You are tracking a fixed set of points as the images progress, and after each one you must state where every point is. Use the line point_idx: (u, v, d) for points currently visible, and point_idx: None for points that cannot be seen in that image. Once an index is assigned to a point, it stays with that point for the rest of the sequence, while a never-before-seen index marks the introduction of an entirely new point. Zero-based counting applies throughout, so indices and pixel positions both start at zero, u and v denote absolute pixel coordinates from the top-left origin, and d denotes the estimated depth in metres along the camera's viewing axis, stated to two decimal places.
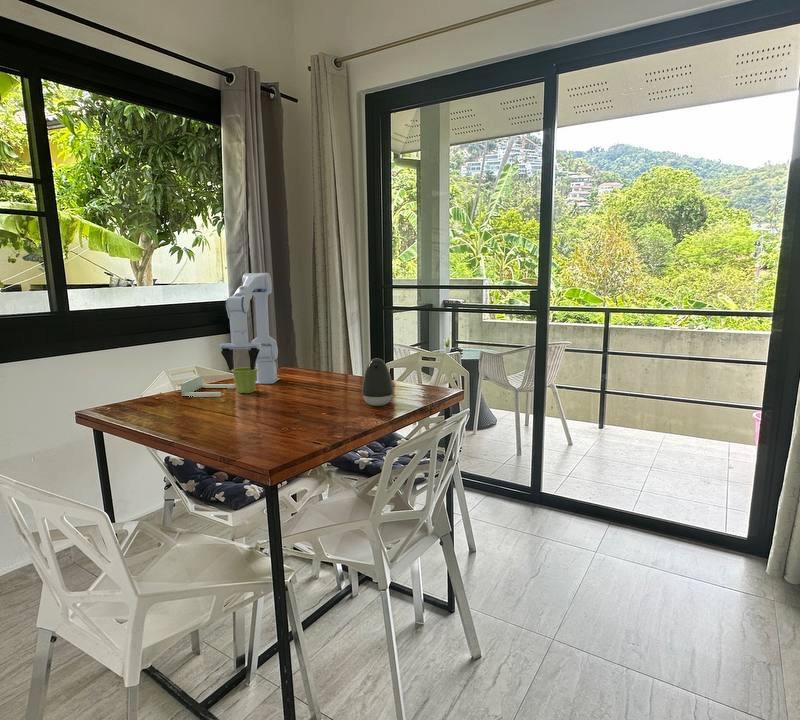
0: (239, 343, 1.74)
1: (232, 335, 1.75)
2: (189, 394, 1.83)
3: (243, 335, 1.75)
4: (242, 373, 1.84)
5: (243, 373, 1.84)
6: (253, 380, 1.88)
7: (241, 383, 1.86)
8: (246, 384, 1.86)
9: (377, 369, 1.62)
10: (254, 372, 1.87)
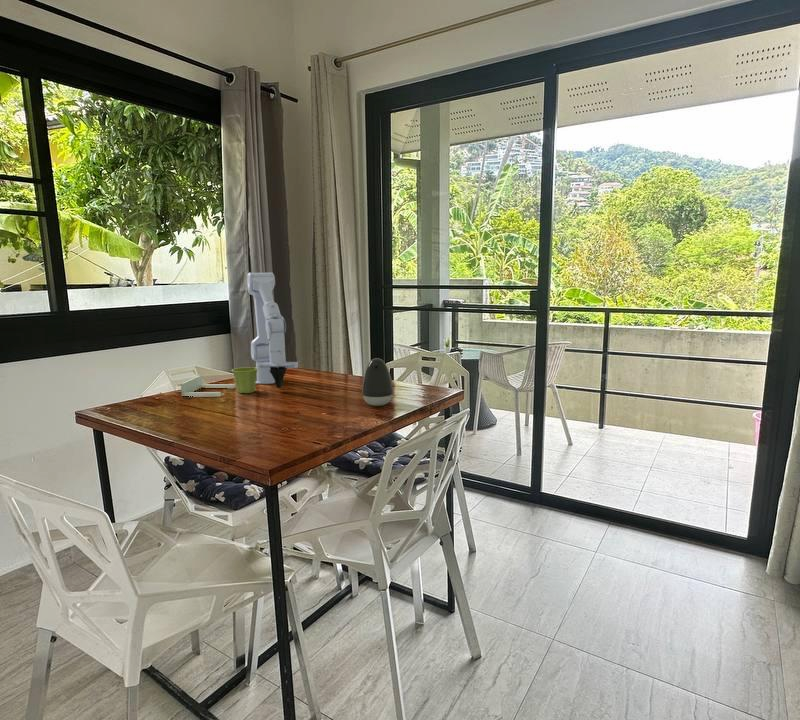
0: (277, 362, 1.85)
1: (271, 355, 1.85)
2: (189, 394, 1.83)
3: (281, 355, 1.85)
4: (242, 373, 1.84)
5: (243, 373, 1.84)
6: (253, 380, 1.88)
7: (241, 383, 1.86)
8: (246, 384, 1.86)
9: (377, 369, 1.62)
10: (254, 372, 1.87)
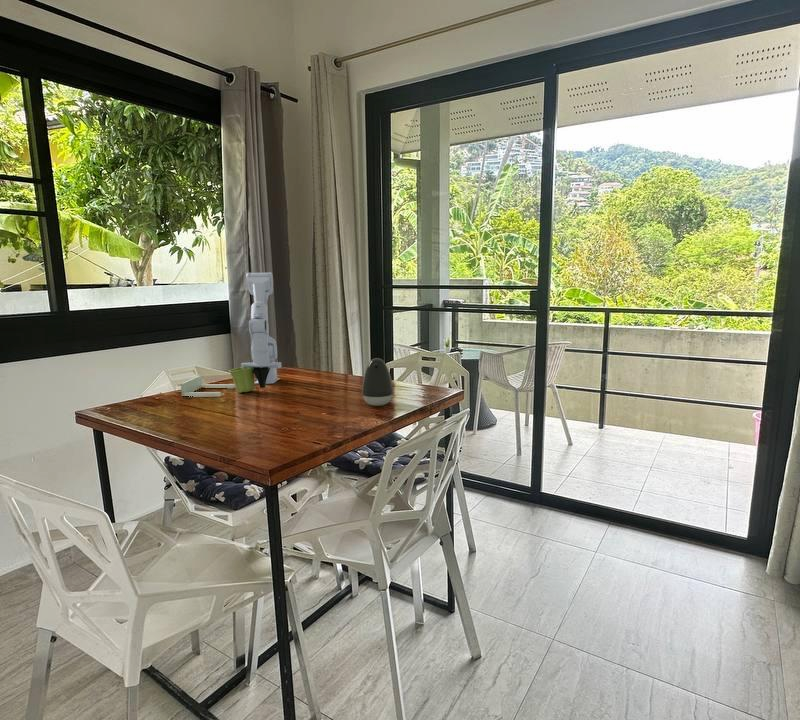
0: (260, 363, 1.85)
1: (254, 355, 1.85)
2: (189, 394, 1.83)
3: (264, 355, 1.85)
4: (239, 372, 1.84)
5: (240, 372, 1.84)
6: (251, 378, 1.88)
7: (239, 382, 1.86)
8: (244, 382, 1.86)
9: (377, 369, 1.62)
10: (251, 370, 1.87)
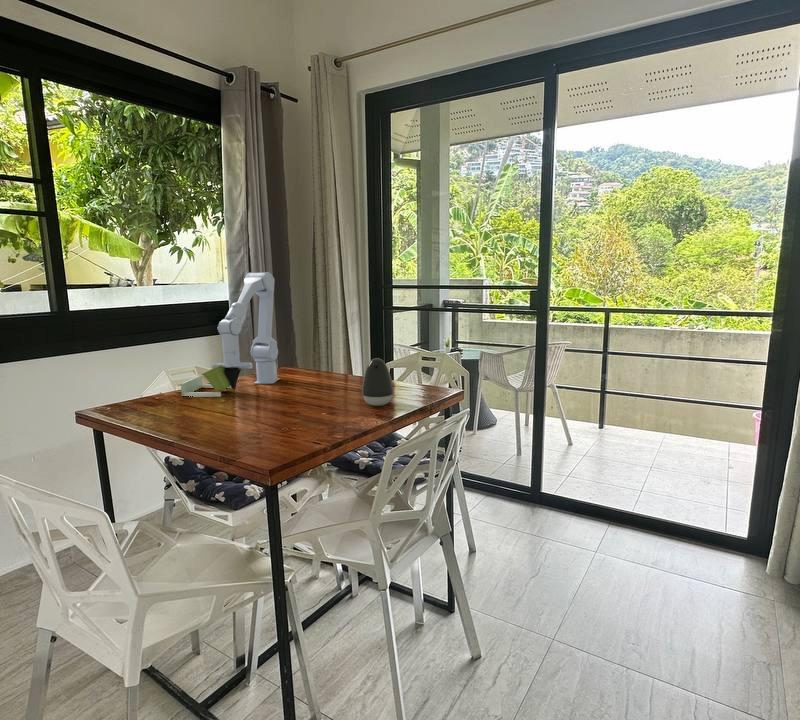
0: (231, 363, 1.86)
1: (224, 355, 1.86)
2: (189, 394, 1.83)
3: (235, 355, 1.86)
4: (211, 371, 1.85)
5: (212, 372, 1.85)
6: (225, 375, 1.88)
7: (214, 381, 1.86)
8: (219, 380, 1.86)
9: (377, 369, 1.62)
10: (222, 367, 1.87)
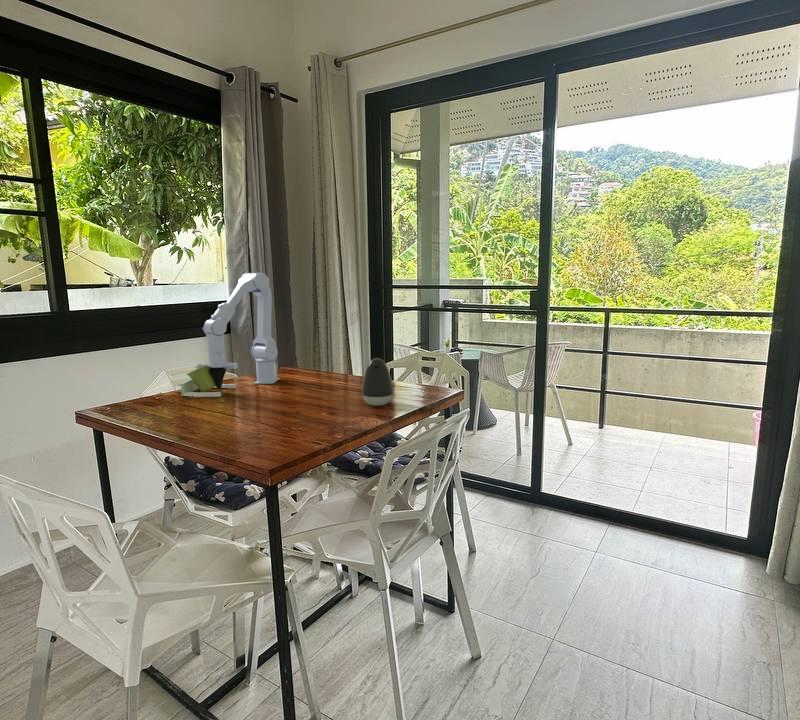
0: (216, 363, 1.86)
1: (209, 356, 1.86)
2: (189, 394, 1.83)
3: (220, 356, 1.86)
4: (196, 371, 1.85)
5: (196, 372, 1.85)
6: (210, 375, 1.88)
7: (199, 382, 1.86)
8: (204, 381, 1.86)
9: (377, 369, 1.62)
10: (208, 367, 1.87)
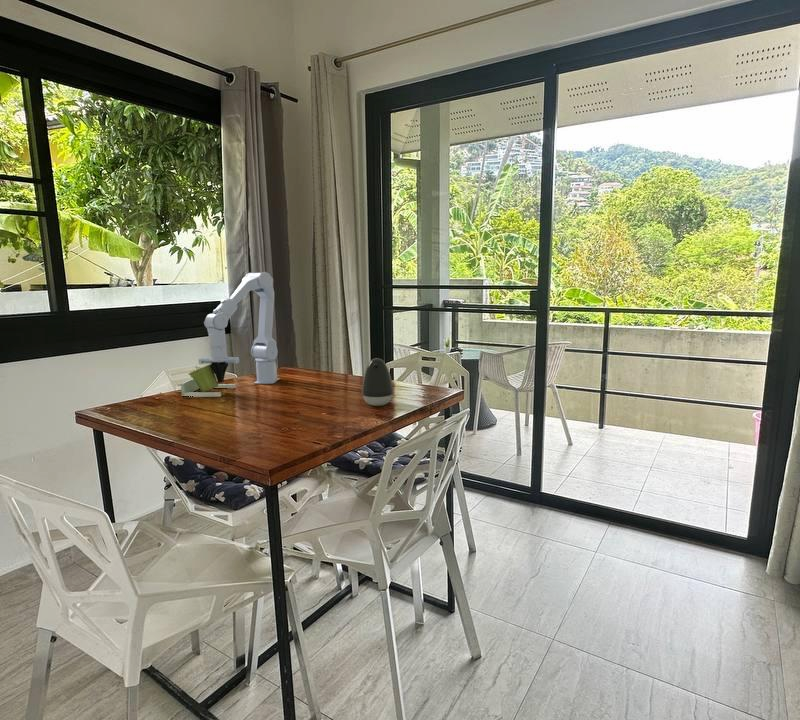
0: (218, 358, 1.85)
1: (211, 350, 1.86)
2: (189, 394, 1.83)
3: (221, 350, 1.86)
4: (197, 371, 1.85)
5: (198, 372, 1.85)
6: (211, 375, 1.88)
7: (200, 381, 1.86)
8: (205, 381, 1.86)
9: (377, 369, 1.62)
10: (209, 367, 1.87)
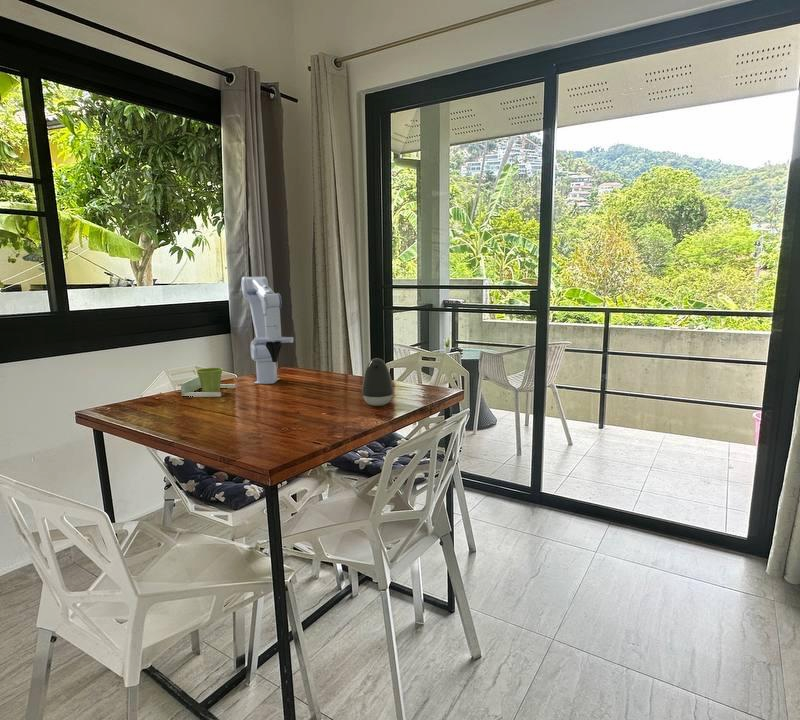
0: (273, 337, 1.88)
1: (267, 329, 1.89)
2: (189, 394, 1.83)
3: (277, 329, 1.89)
4: (206, 373, 1.85)
5: (207, 374, 1.85)
6: (218, 380, 1.88)
7: (205, 383, 1.86)
8: (210, 384, 1.86)
9: (377, 369, 1.62)
10: (218, 372, 1.88)
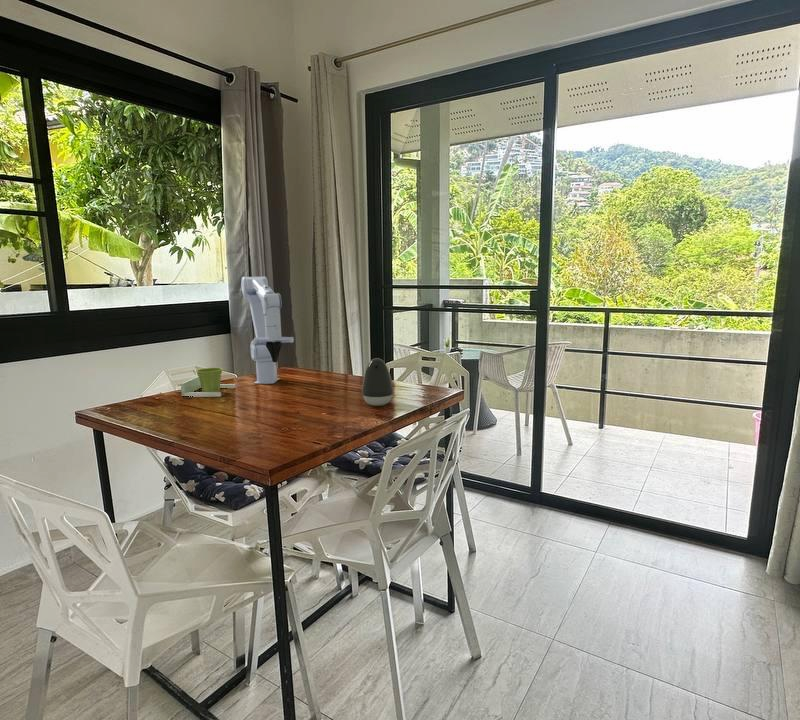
0: (273, 337, 1.88)
1: (267, 329, 1.89)
2: (189, 394, 1.83)
3: (277, 329, 1.89)
4: (206, 373, 1.85)
5: (207, 374, 1.85)
6: (217, 380, 1.88)
7: (205, 383, 1.86)
8: (210, 384, 1.86)
9: (377, 369, 1.62)
10: (218, 372, 1.88)
